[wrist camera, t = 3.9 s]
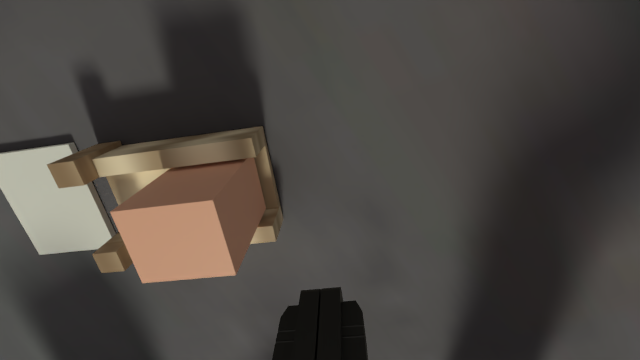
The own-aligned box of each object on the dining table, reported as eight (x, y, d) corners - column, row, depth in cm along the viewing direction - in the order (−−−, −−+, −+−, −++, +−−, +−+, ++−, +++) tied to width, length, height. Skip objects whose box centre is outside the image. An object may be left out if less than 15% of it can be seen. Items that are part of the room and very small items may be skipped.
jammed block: (252, 151, 25) (212, 200, 17) (266, 207, 27) (236, 274, 19) (180, 161, 25) (110, 211, 18) (198, 215, 27) (142, 283, 19)
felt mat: (73, 142, 26) (68, 144, 26) (120, 243, 30) (116, 247, 29) (-11, 154, 27) (-18, 156, 27) (44, 251, 31) (39, 254, 30)
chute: (261, 120, 25) (244, 138, 20) (284, 222, 28) (273, 257, 24) (97, 143, 26) (46, 164, 22) (138, 237, 30) (101, 273, 25)
